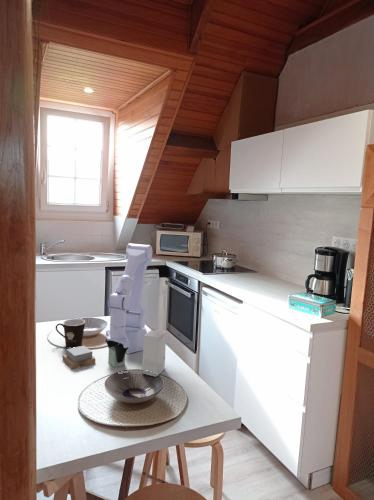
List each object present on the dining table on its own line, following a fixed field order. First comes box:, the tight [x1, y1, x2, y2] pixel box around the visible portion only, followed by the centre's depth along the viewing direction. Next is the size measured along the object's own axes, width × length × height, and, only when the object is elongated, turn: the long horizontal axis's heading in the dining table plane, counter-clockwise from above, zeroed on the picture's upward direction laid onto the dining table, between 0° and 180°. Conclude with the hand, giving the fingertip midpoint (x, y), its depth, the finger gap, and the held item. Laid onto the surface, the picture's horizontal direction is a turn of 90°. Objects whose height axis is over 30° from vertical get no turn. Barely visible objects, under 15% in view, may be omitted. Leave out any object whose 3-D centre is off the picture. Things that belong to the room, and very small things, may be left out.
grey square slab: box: [66, 345, 93, 362], centre depth 138 cm, size 7×7×2 cm
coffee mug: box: [55, 318, 86, 348], centre depth 154 cm, size 12×9×10 cm
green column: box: [107, 347, 126, 368], centre depth 139 cm, size 4×4×6 cm
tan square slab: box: [62, 353, 96, 370], centre depth 139 cm, size 9×9×2 cm
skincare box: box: [141, 328, 167, 375], centre depth 133 cm, size 8×6×15 cm
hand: (116, 359), depth 139 cm, fingers closed on green column, 4 cm apart
